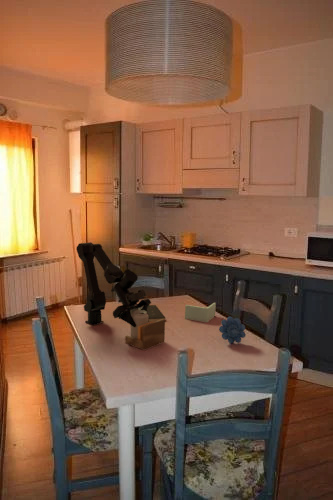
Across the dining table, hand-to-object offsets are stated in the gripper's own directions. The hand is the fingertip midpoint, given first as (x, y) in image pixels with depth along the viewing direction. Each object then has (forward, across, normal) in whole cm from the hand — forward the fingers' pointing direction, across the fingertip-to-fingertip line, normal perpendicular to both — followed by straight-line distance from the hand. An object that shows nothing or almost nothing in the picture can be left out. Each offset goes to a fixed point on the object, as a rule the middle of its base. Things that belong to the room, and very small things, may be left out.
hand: (141, 324), depth 174 cm
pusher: (+7, 0, +4) cm, 8 cm away
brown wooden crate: (+6, 0, +4) cm, 7 cm away
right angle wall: (+5, +45, +7) cm, 46 cm away
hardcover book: (-11, +28, +23) cm, 38 cm away
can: (+4, 0, +6) cm, 7 cm away
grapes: (+27, +24, -16) cm, 39 cm away
